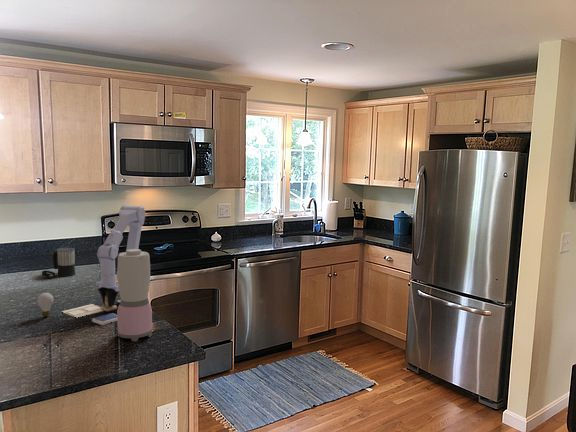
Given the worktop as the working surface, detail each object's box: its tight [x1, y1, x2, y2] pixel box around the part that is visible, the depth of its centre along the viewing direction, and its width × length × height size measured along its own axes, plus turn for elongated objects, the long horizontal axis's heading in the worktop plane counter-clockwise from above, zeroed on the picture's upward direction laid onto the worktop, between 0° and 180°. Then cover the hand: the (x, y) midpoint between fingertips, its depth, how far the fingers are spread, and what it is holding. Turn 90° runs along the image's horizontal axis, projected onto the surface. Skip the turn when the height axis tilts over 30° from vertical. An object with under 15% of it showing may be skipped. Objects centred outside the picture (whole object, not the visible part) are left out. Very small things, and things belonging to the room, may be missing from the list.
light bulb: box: [36, 292, 54, 318], centre depth 191 cm, size 6×6×10 cm
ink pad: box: [91, 312, 117, 326], centre depth 189 cm, size 9×7×2 cm
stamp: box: [100, 295, 118, 313], centre depth 198 cm, size 4×4×6 cm
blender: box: [116, 248, 153, 342], centre depth 172 cm, size 16×12×32 cm
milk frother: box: [41, 247, 76, 279], centre depth 259 cm, size 14×16×15 cm
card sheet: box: [61, 303, 104, 319], centre depth 200 cm, size 14×12×1 cm
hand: (109, 304), depth 198 cm, fingers closed on stamp, 3 cm apart
